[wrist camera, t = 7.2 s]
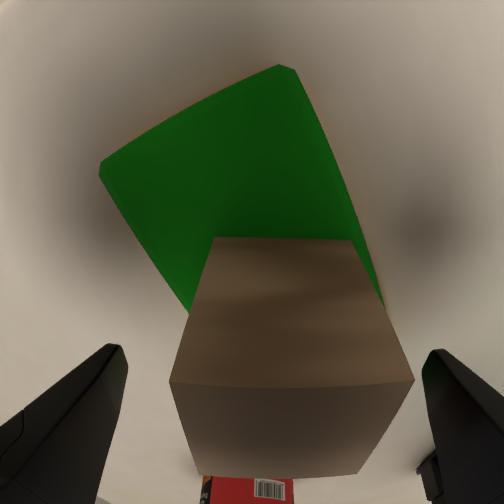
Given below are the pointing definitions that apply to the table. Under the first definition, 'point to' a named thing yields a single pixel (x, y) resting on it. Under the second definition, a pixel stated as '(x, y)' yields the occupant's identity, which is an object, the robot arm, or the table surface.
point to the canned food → (246, 491)
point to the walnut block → (286, 361)
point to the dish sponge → (232, 178)
